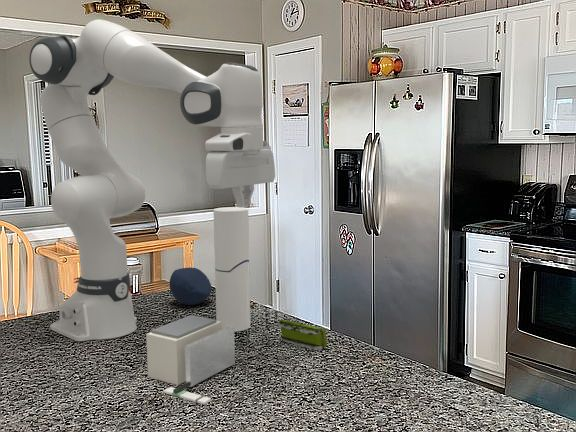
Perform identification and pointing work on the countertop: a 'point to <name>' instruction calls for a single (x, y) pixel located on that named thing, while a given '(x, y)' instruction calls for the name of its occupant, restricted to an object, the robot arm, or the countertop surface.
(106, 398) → the countertop surface
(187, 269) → the decorative stone
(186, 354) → the plate
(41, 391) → the countertop surface
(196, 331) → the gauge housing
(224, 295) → the container
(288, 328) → the toy tank
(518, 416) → the countertop surface
